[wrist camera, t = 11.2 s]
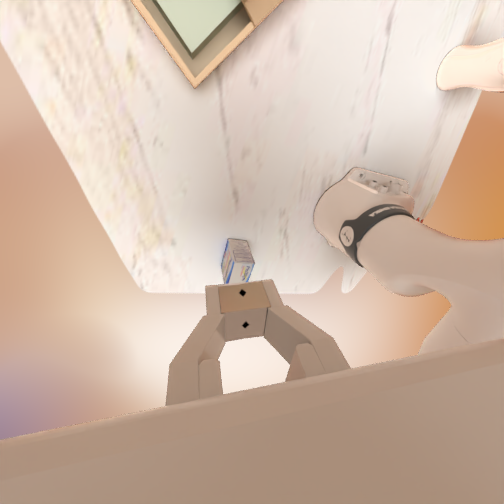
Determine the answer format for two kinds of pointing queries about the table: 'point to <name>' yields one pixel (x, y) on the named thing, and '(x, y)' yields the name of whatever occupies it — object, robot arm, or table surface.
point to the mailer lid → (258, 9)
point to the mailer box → (197, 31)
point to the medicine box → (237, 262)
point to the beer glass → (473, 67)
